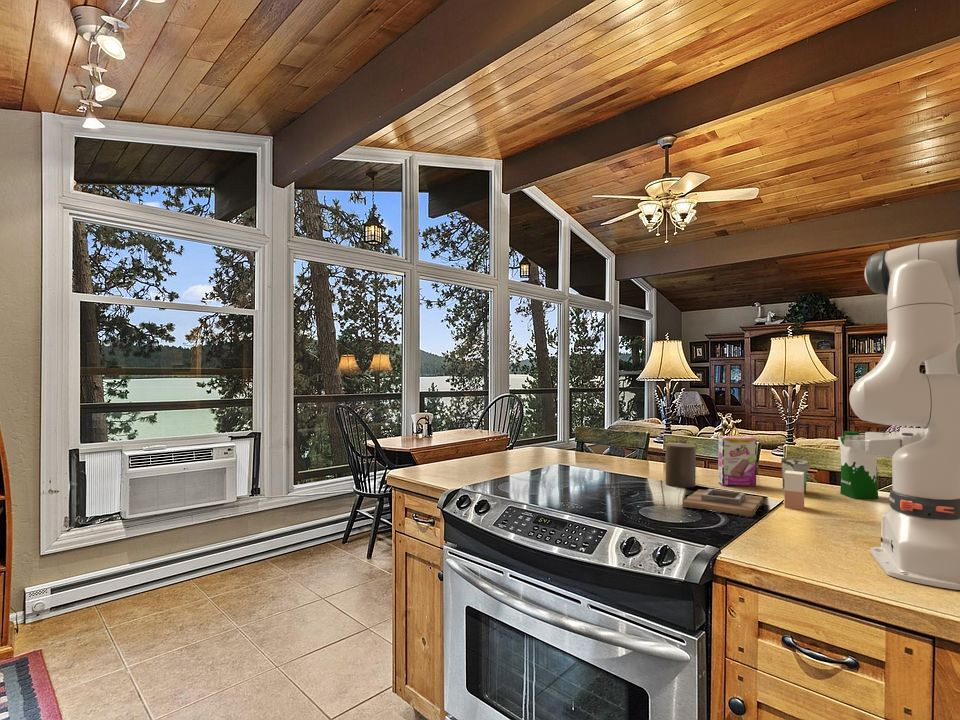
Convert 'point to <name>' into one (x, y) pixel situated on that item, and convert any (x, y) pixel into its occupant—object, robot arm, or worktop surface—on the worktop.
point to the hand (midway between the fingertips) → (844, 440)
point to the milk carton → (857, 471)
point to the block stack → (794, 489)
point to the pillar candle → (680, 464)
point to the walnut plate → (724, 501)
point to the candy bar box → (736, 461)
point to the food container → (795, 468)
